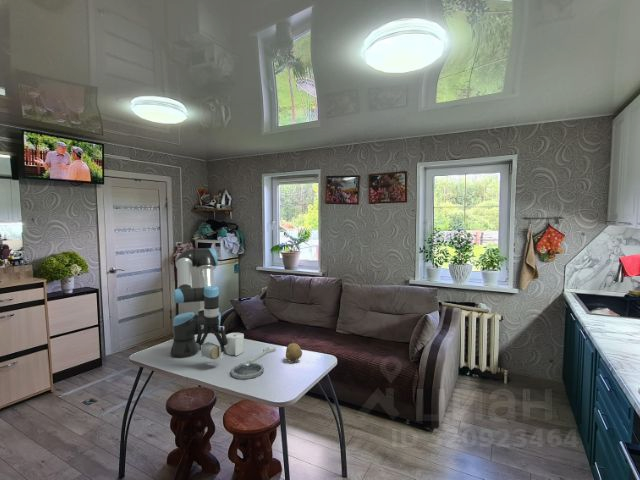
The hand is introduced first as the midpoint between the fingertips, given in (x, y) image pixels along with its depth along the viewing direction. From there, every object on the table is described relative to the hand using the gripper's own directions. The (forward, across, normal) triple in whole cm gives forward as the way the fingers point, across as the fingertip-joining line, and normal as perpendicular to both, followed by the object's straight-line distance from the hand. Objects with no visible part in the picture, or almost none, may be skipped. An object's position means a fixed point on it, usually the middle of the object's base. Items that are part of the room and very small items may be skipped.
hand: (212, 357), depth 178 cm
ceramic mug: (0, 0, +1) cm, 1 cm away
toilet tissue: (+6, +3, +22) cm, 23 cm away
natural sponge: (+5, +41, +14) cm, 44 cm away
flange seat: (+5, +21, -4) cm, 22 cm away
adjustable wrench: (+6, +20, +19) cm, 28 cm away
